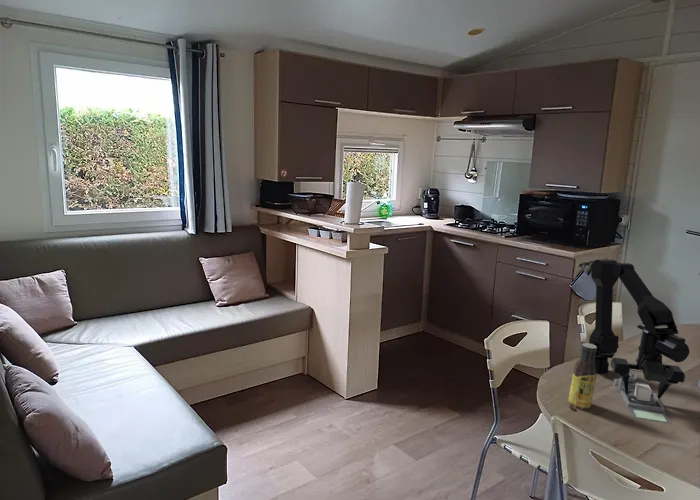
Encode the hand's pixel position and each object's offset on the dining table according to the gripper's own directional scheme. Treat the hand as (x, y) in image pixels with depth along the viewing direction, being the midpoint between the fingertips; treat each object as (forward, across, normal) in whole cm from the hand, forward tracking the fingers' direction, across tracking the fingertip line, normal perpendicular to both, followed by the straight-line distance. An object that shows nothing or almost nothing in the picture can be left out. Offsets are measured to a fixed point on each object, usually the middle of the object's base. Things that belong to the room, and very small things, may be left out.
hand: (642, 395), depth 155 cm
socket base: (+3, 0, +1) cm, 3 cm away
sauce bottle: (+3, -19, -8) cm, 21 cm away
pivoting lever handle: (+1, -3, +9) cm, 9 cm away
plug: (+2, 0, 0) cm, 2 cm away
